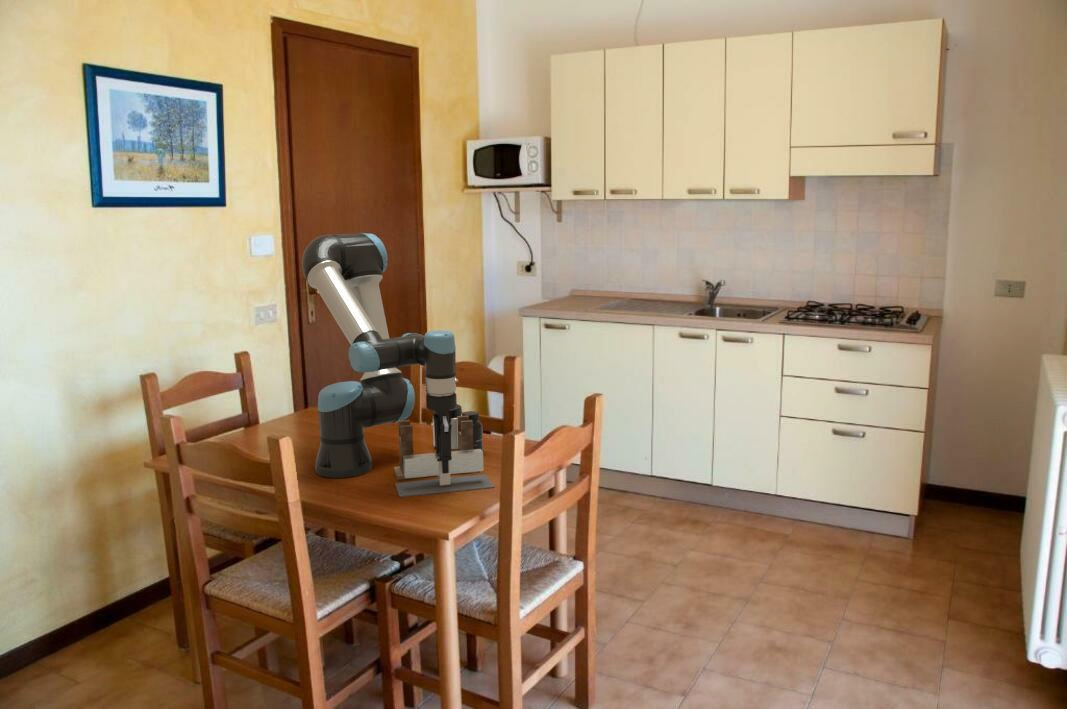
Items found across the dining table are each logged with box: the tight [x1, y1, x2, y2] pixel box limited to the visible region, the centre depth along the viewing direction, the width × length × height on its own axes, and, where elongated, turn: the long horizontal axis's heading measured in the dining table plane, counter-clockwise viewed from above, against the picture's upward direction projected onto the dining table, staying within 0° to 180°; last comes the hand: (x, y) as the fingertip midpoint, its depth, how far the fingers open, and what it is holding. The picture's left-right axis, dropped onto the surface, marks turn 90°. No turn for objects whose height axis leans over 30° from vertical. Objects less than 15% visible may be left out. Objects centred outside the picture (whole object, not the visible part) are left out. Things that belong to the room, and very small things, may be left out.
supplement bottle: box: [462, 410, 484, 452], centre depth 242 cm, size 7×7×12 cm
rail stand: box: [393, 416, 481, 481], centre depth 226 cm, size 22×8×14 cm, turn 105°
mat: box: [394, 473, 495, 498], centre depth 216 cm, size 24×10×1 cm, turn 105°
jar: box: [432, 404, 463, 451], centre depth 249 cm, size 9×8×12 cm
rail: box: [403, 449, 484, 479], centre depth 215 cm, size 20×3×5 cm, turn 105°
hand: (443, 481), depth 216 cm, fingers closed on rail, 3 cm apart
